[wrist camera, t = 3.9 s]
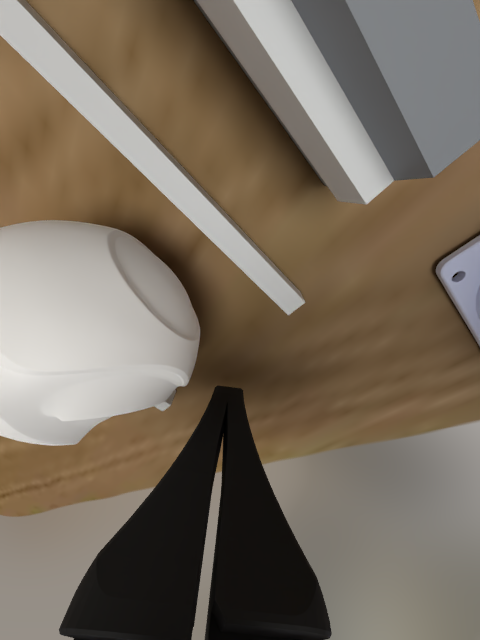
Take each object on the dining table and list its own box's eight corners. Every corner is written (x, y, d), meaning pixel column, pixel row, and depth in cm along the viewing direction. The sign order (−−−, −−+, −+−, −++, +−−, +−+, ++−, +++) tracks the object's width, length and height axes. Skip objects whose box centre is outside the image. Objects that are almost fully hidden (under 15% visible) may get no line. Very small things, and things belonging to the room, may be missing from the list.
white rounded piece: (93, 345, 14) (-60, 491, 7) (31, 211, 10) (-457, 254, 3) (218, 347, 13) (183, 506, 7) (206, 209, 9) (90, 254, 3)
